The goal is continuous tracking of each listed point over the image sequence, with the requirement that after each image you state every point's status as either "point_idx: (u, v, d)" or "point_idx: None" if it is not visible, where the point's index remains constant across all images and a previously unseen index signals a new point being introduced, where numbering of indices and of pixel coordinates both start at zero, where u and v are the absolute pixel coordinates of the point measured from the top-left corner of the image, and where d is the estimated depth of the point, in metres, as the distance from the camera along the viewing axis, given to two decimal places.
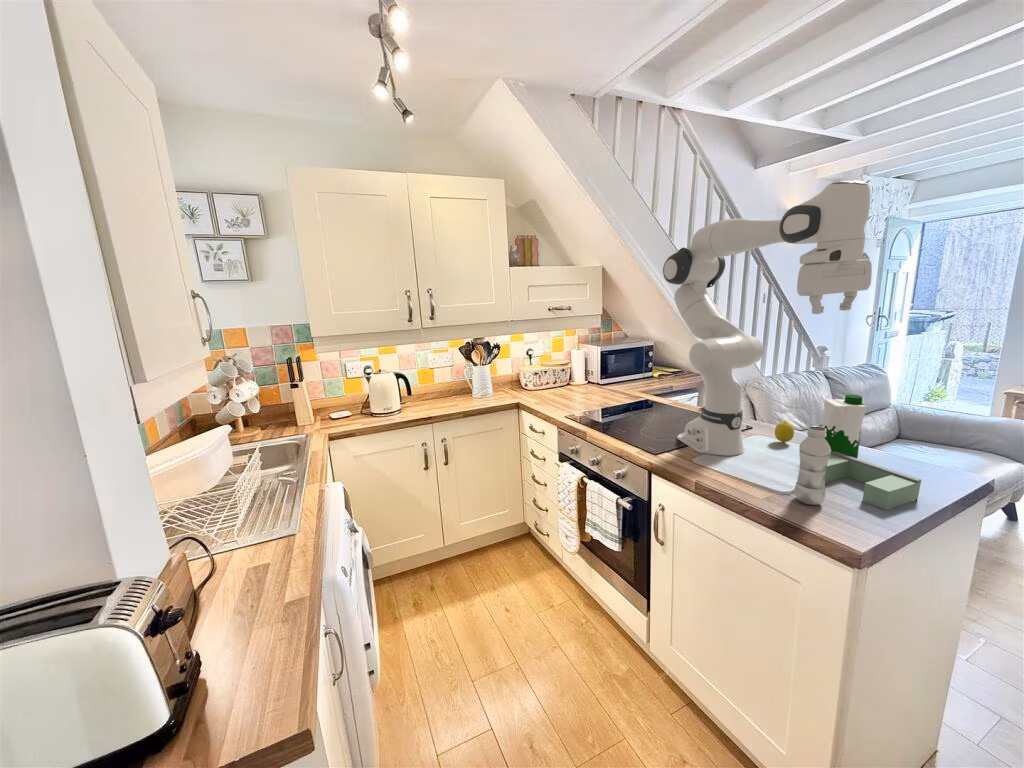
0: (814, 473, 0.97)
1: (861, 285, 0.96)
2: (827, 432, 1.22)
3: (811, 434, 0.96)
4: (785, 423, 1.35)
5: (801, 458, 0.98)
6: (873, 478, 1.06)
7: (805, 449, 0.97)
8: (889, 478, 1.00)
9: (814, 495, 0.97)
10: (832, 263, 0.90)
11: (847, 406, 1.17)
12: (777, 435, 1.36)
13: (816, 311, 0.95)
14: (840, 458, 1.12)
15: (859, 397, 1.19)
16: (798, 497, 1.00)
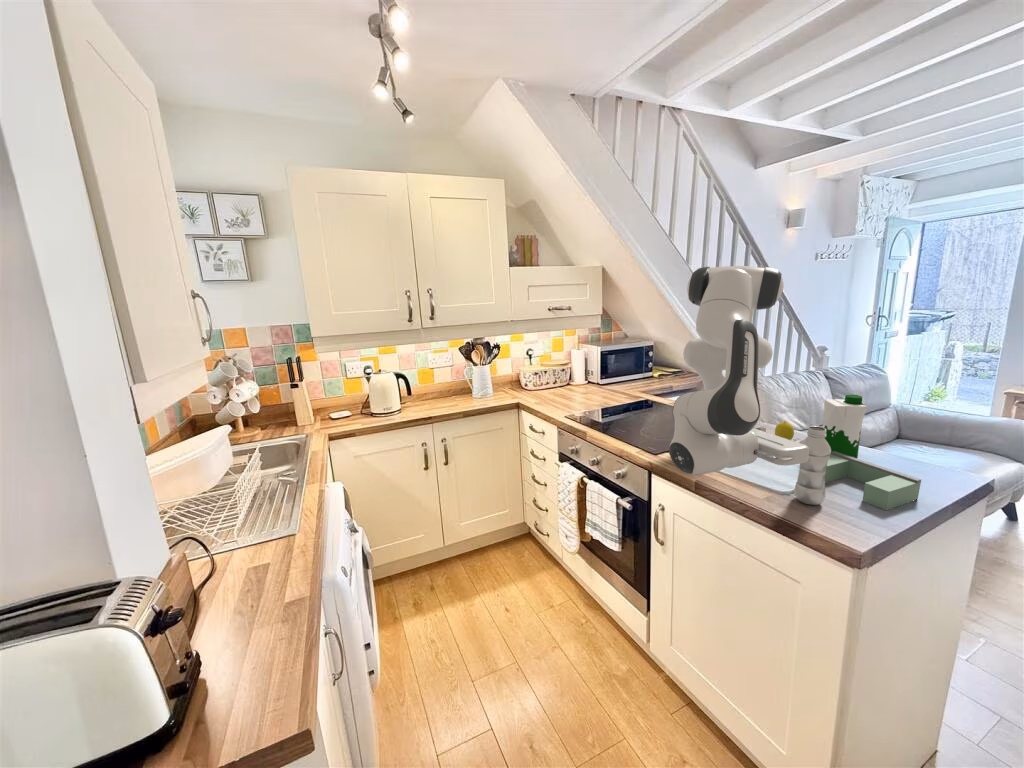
0: (814, 473, 0.97)
1: None
2: (827, 432, 1.22)
3: (811, 434, 0.96)
4: (785, 423, 1.35)
5: None
6: (873, 478, 1.06)
7: None
8: (889, 478, 1.00)
9: (814, 495, 0.97)
10: None
11: (847, 406, 1.17)
12: (777, 435, 1.36)
13: None
14: (840, 458, 1.12)
15: (859, 397, 1.19)
16: (798, 497, 1.00)
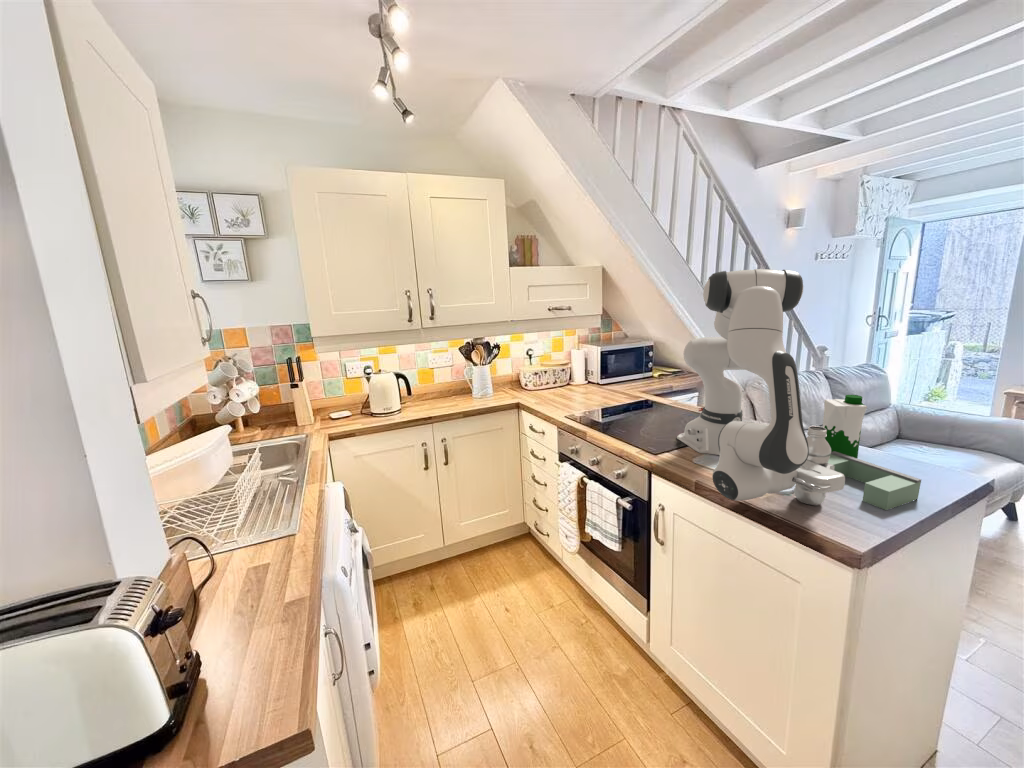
0: None
1: None
2: (827, 432, 1.22)
3: (811, 434, 0.96)
4: None
5: None
6: (873, 478, 1.06)
7: None
8: (889, 478, 1.00)
9: (814, 495, 0.97)
10: None
11: (847, 406, 1.17)
12: None
13: None
14: (840, 458, 1.12)
15: (859, 397, 1.19)
16: (798, 497, 1.00)
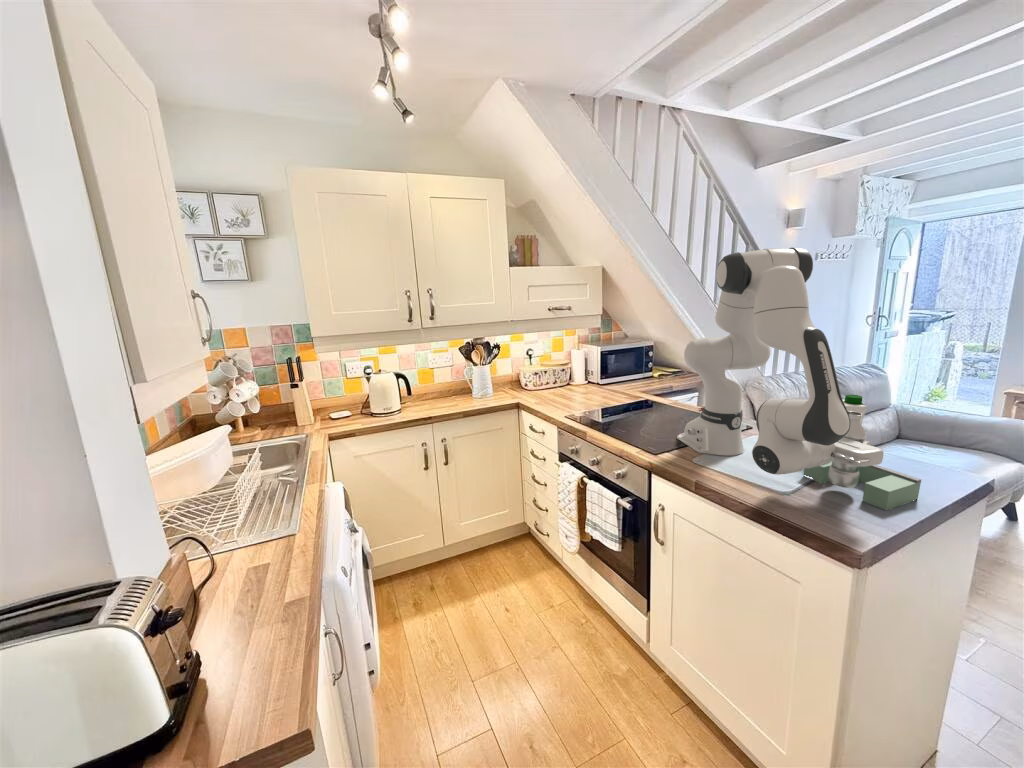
0: None
1: None
2: None
3: None
4: None
5: None
6: (873, 478, 1.06)
7: None
8: (889, 478, 1.00)
9: (848, 478, 1.00)
10: None
11: (847, 406, 1.17)
12: None
13: None
14: None
15: (859, 397, 1.19)
16: (831, 480, 1.03)
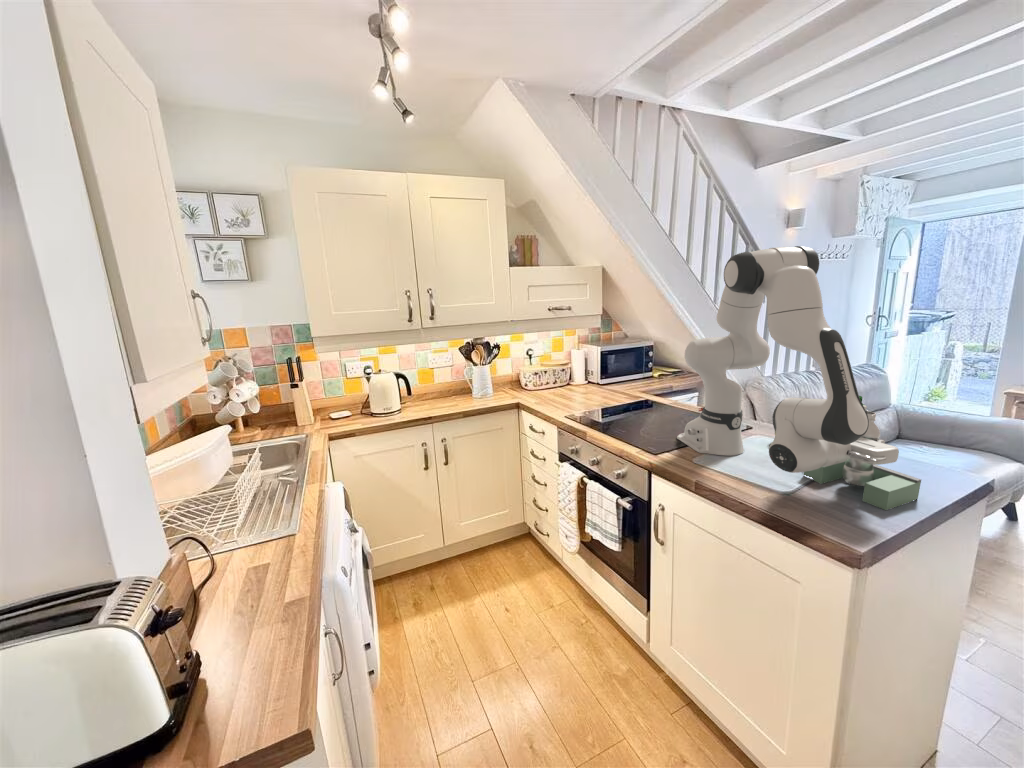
0: None
1: None
2: None
3: None
4: None
5: None
6: None
7: None
8: (889, 478, 1.00)
9: (862, 476, 1.02)
10: None
11: None
12: None
13: None
14: None
15: (859, 397, 1.19)
16: (846, 478, 1.05)
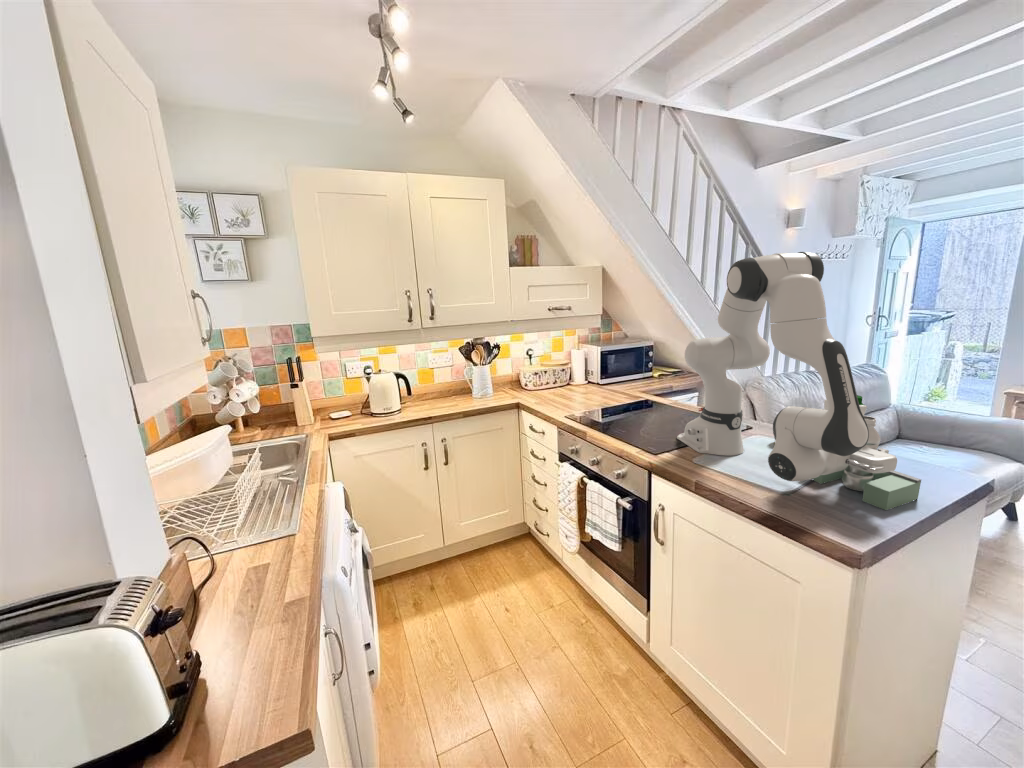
0: None
1: None
2: None
3: None
4: None
5: None
6: None
7: None
8: (889, 478, 1.00)
9: (862, 481, 1.02)
10: None
11: None
12: None
13: None
14: None
15: (859, 397, 1.19)
16: (846, 483, 1.05)
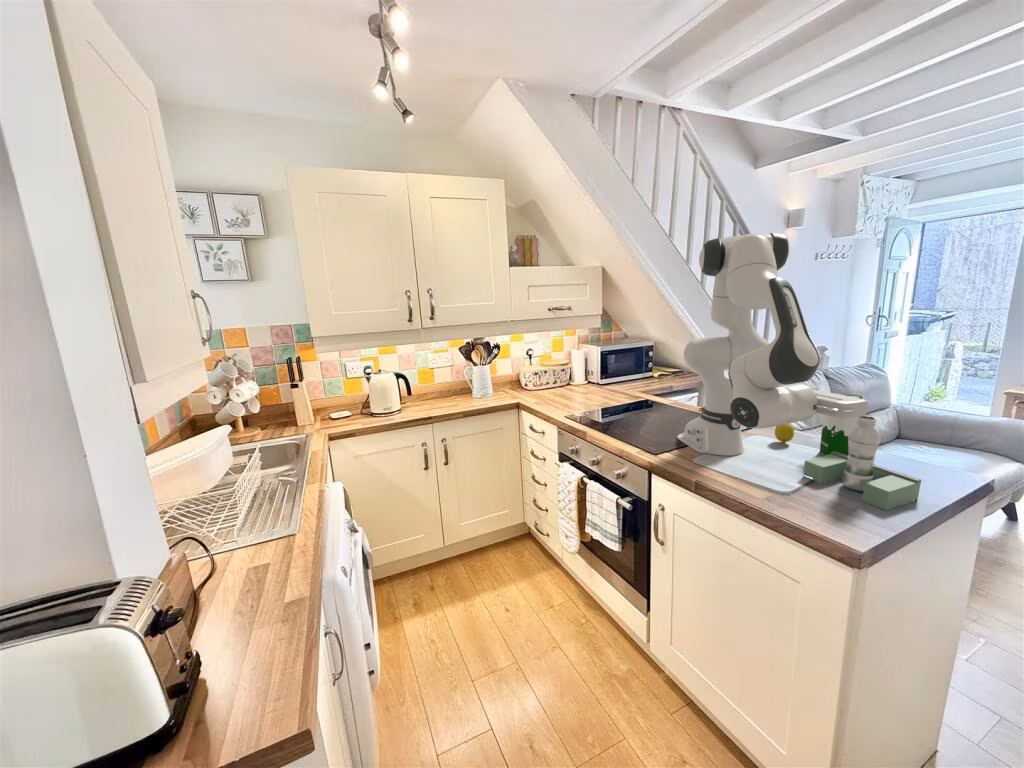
0: (863, 461, 1.02)
1: None
2: (827, 432, 1.22)
3: (860, 423, 1.01)
4: (785, 423, 1.35)
5: (850, 446, 1.03)
6: None
7: (854, 438, 1.02)
8: (889, 478, 1.00)
9: (862, 481, 1.02)
10: None
11: None
12: (777, 435, 1.36)
13: None
14: (840, 458, 1.12)
15: None
16: (846, 483, 1.05)
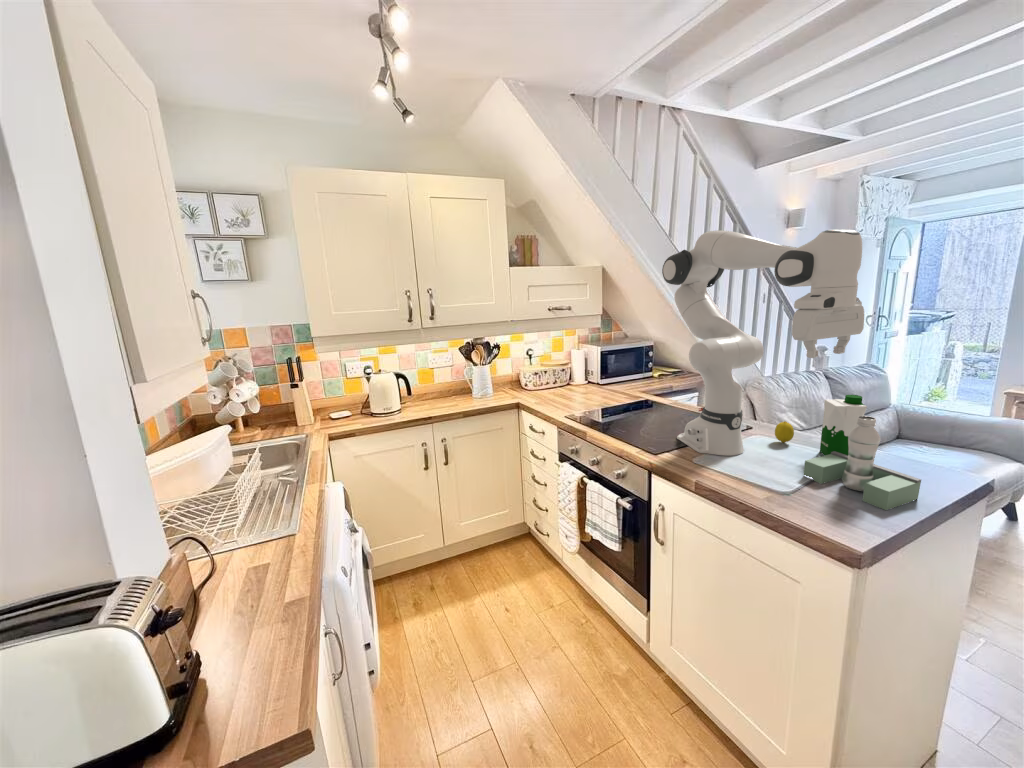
0: (863, 461, 1.02)
1: (854, 329, 0.97)
2: (827, 432, 1.22)
3: (860, 423, 1.01)
4: (785, 423, 1.35)
5: (850, 446, 1.03)
6: None
7: (854, 438, 1.02)
8: (889, 478, 1.00)
9: (862, 481, 1.02)
10: (826, 309, 0.91)
11: (847, 406, 1.17)
12: (777, 435, 1.36)
13: (811, 355, 0.96)
14: (840, 458, 1.12)
15: (859, 397, 1.19)
16: (846, 483, 1.05)
